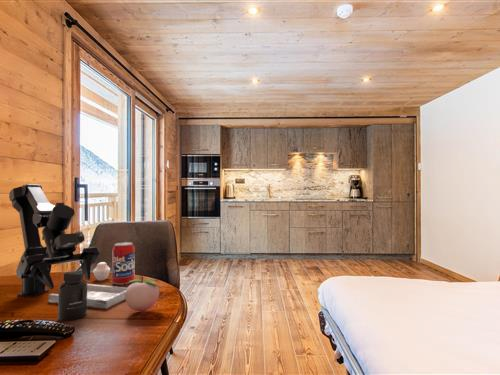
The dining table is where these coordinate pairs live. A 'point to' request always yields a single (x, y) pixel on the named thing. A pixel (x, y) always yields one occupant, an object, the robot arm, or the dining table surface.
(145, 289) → the decorative fruit
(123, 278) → the soda can
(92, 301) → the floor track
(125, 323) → the dining table surface
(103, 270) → the small white vase
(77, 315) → the supplement bottle
